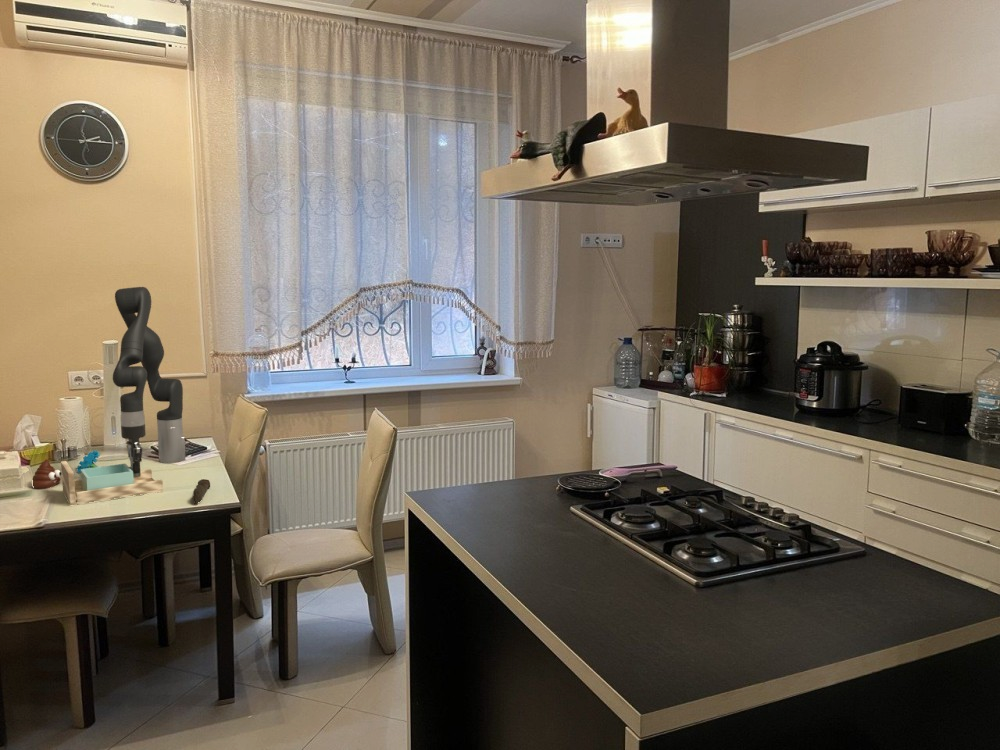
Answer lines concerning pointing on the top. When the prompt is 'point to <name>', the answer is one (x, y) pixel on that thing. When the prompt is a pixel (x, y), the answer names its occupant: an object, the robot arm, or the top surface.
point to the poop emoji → (46, 476)
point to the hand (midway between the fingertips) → (135, 471)
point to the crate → (108, 476)
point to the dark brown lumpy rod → (200, 490)
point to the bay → (78, 496)
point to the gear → (88, 461)
